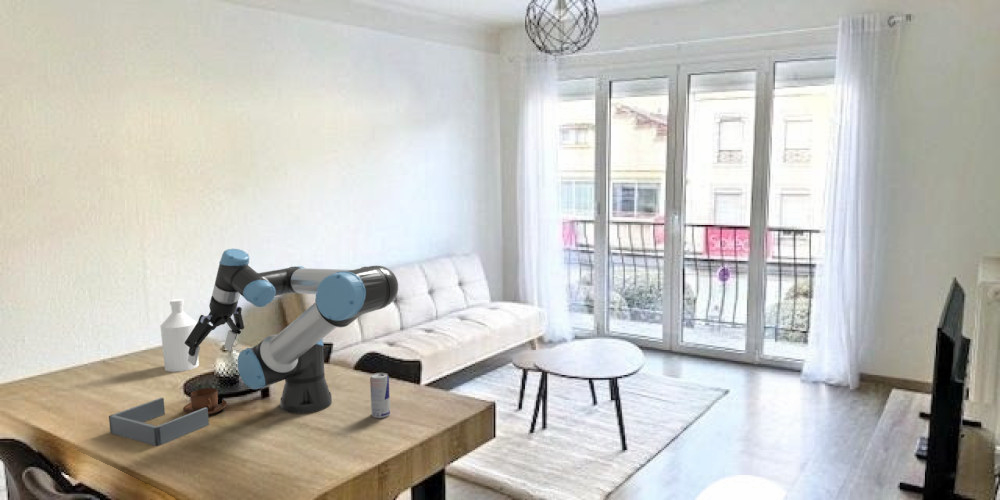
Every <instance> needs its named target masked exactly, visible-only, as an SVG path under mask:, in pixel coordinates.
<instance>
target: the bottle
mask: <svg viewBox="0 0 1000 500" xmlns="http://www.w3.org/2000/svg"><path fill="white" fill-rule="evenodd" d="M184 304H185V299H183V298H177V299H175V298H174V299H170V300H169V305H170V307H171V313H170V315H169V316H168V317H167V318H166V319H165V320H164V321H163V322H162V323H161V325H160V334H161V344H162V355H163V363H164V364H163V365H164V370H165V371H166V372H171V373H172V372H173V373H177V372H185V371H190V370H194V369H196V368H198V367H199V365H200V361H199V357H198V358H197V362H196V365H194V366H193V365H192V364H191V363H190V362H188V357H189V354H188V352H189V348H190V347H188V346H187V345H186V344H185V341H186V340H187V338H188V336H189V335H190V333H191V332H192V330H193V329H194V327H195V326H196V324H197V321H196V320H195V319H193V318H192V317H191V316H189V315H188V314H187V313H186V312H185V311H184Z"/></svg>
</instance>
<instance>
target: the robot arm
mask: <svg viewBox="0 0 1000 500" xmlns="http://www.w3.org/2000/svg"><path fill="white" fill-rule="evenodd" d="M218 264H219V265H218V267H217V273H216V277H215V283H214V286H213V290H212V293H211V297H210V301H209V305H208V306H209V313H208V315H204V314H200V316H199V318H198V320H197V321H196V323H197V324H196V326H195V327H194V329H193V330H192V332H191V333H190V335H189V336H188V338H187V340H186V341H185V344H186V345H187V346H188V347H190V348H189V352H188V354H189V357H188V362H190V363H191V364H192V365H193V366H194V365H196V362H197V358H199V354H200V350H201V346H200V345H201V344H202V343H203V341H205V339H206V337H208V335H210V333H211V332H212V331H214V330H216V328H217V327H220V326H222V325H225V324H226V325H227V326H228V327H229V329H228V332H227V335H226V338H225V343H224V346H223V348H225V349H226V350H227V351H228V352H232V351H233V347H234V344H235V341H236V340H237V335H240V334H241V333H242V330H244V329H245V324H244V320H243V315H242V310H243V309H242V307H241V306H240V305H238V303H239V300H240V296H242V297H243V298H244V300H245V301H247V302H249V303H250V304H252V305H253V306H254V307H257V308H264V307H266V306H267V305H268V304H270V303H271V302H272V301H273V299H275V297H277V296H280V295H281V296H282V295H286V294H304V295H315V299H314V303H313V304H311V305H310V306H309V307H308V308H307V309H306V310H305V311H303V312H302V313H300V315H299V316H298V317H296V318H295V319H294V320H293V321H292V322H291V323H289V324H288V325H287V326H286V327H284V329H282V330H281V331H280V332H279V333H278V334H277V333H276V334H275V333H274V334H270V335H268V336H266V337H265V338H264V339H262V341H260V342H259V343H257V345H254V346H253V347H247V348H245V349H244V350H241V351H240V353H239V354H238V356H237V361H236V362H237V363H236V364H237V371H238V373H239V376H240V378H241V380H242V382H243V383H244V385H245V386H246V387H248V388H249V389H251V390H258V389H264V388H265V387H268V386H271V385H273V384H277V383H279V382H282V381H285V382H284V386H283V390H282V393H281V398H280V401H279V405H280V409H281V411H282V412H285V413H288V414H308V413H315V412H318V411H321V410H324V409H326V408H328V407H329V406H331V405H332V402H333V399H332V398H333V397H332V393H331V391H330V389H329V386H328V383H327V381H326V377H325V374H326V373H325V356H324V355H325V354H324V346H325V345H324V340H323V339H324V338H325V337H326V336H328V335H329V334H330V333H331V332H333V331H334V330H335V329H336V328H346V327H348V326H350V325H351V324H352V323H353V322H355V320H357V319H358V318H360V317H361V316H363V315H366V314H368V313H371V312H375V311H379V310H381V309H385V308H387V307H388V306H390V304H392V303H393V302H394V301H395V299H396V297H397V295H398V293H399V292H398V291H399V283H398V278H397V277H396V274H395V273H394V272H393V271H392V270H391V269H389V268H388V267H385V266H383V265H369V266H362V267H360V268H355V269H340V268H339V269H337V268H336V269H331V268H306V267H304V266H299V265H298V266H290V267H287V268H285V267H284V268H281V269H276V270H275V269H274V270H269V271H263V272H257V271H255V270H254V269H253V268H252V267H251V266H249V264H250V256H249V253H248V252H246V251H244V250H243V249H240V248H228V249H226V250H224V251H223V252H222V254H221V258H220V260H219V263H218ZM232 316H233V319H234V320H233V319H232V318H231V317H232ZM210 323H211V324H210Z"/></svg>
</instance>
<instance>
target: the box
mask: <svg viewBox="0 0 1000 500" xmlns="http://www.w3.org/2000/svg"><path fill="white" fill-rule="evenodd" d="M165 412H166V411H165V400H164V397H159V398H156V399H154V400H150V401H147V402H145V403H142V404H138V405H136V406H133V407H130V408H128V409H125V410H121V411H118V412H116V413H114V414H110V415H108V421H109V429H110V430H109V433H110V434H112V435H116V436H119V437H123V438H127V439H130V440H134V441H138V442H141V443H144V444H148V445H150V446H151V445H152V446H155V447H159V446H161V445H164V444H167V443H169V442H171V441H174V440H177V439H178V438H181V437H183V436H185V435H189V434H190V433H193V432H196V431H198V430H200V429H203V428H205V427H207V426H209V425H210V423H209V421H210V420H209V415H208V408H206V407H205V408H202V409H200V410H197V411H195V412H192V413H190V414H184V415H183V416H182V415H181V416H180V417H176V418H175V419H172V420H169V421H167V422H164V423H161V424H159V425H155V424H150V423H147V421H151V420H154V419H156V418H158V417H162V416H163V415H165V414H166V413H165Z"/></svg>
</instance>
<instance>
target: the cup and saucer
mask: <svg viewBox="0 0 1000 500" xmlns="http://www.w3.org/2000/svg"><path fill="white" fill-rule="evenodd" d="M218 396H219V395H218V389H217V388H213V387H205V388H200V389H199V388H198V389H195V390H193V391H192V392H190V401H191V402H189V403H187V404H185V405H184V406H183V407H182V411H183V412H184V413H185V415H187V414H190V413H192V412H195V411H197V410H200V409H202V408H205V407H206V408H208V416H210V415H213V414H216V413H218V412H220V411H222V410H223V409H224V408H225V407H227V404H228V403H227V400H225V399H222V400H223V401H222V403H220V404H218V399H219V397H218Z"/></svg>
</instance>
